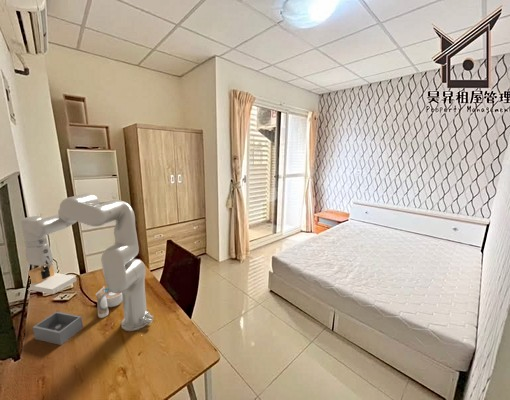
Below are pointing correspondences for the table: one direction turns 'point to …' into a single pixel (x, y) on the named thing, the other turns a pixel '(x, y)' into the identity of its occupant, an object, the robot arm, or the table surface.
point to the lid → (49, 281)
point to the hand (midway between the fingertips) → (42, 276)
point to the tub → (58, 328)
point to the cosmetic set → (107, 301)
